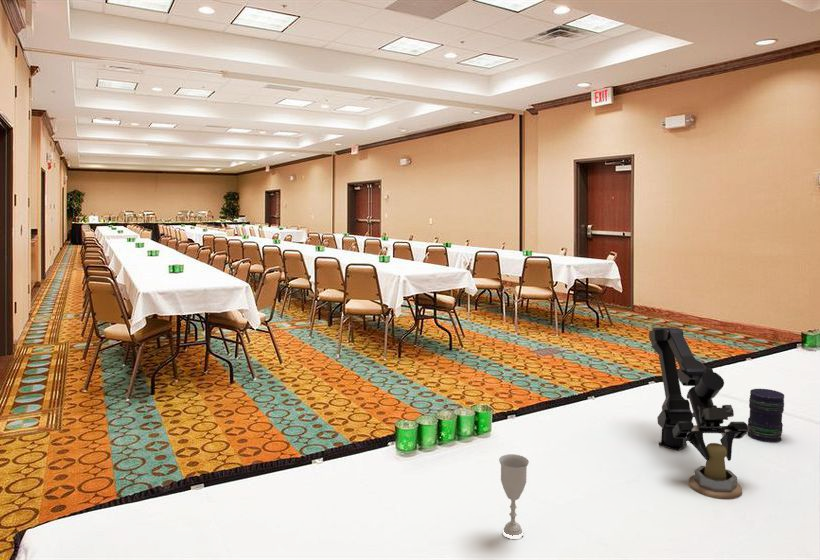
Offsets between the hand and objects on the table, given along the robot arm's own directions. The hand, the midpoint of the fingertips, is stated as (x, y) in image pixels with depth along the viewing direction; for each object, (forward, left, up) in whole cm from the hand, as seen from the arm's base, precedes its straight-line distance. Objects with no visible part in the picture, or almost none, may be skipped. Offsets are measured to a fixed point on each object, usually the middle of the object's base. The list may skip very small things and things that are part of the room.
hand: (718, 460), depth 161 cm
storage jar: (-5, +50, -9) cm, 51 cm away
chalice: (-23, -58, -9) cm, 63 cm away
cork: (-1, +1, -8) cm, 8 cm away
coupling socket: (-1, +1, -8) cm, 8 cm away
